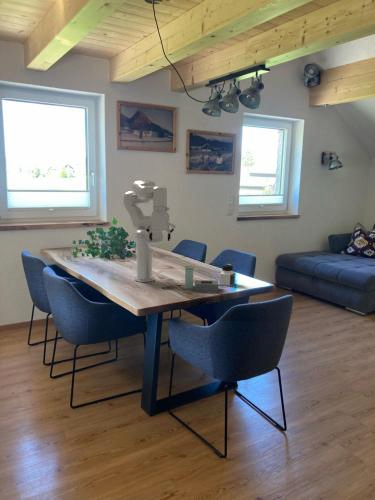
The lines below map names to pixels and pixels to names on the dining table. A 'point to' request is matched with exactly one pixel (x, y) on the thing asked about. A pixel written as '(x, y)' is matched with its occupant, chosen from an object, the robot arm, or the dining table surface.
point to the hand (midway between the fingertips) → (159, 240)
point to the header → (206, 286)
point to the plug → (189, 276)
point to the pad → (188, 288)
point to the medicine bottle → (227, 275)
